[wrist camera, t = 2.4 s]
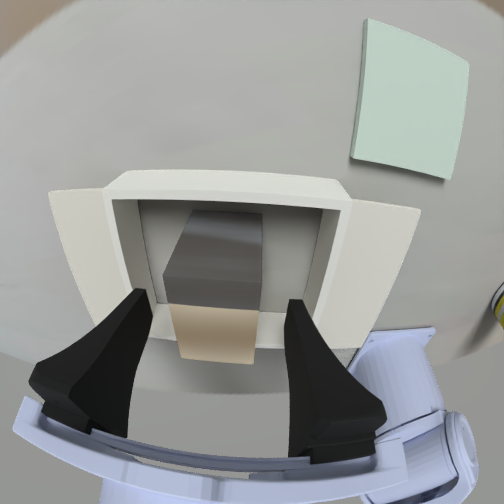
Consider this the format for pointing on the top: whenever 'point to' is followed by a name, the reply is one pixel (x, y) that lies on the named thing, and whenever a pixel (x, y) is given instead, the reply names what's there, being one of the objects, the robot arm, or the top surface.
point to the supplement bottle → (499, 305)
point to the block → (216, 286)
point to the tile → (409, 102)
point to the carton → (251, 191)
